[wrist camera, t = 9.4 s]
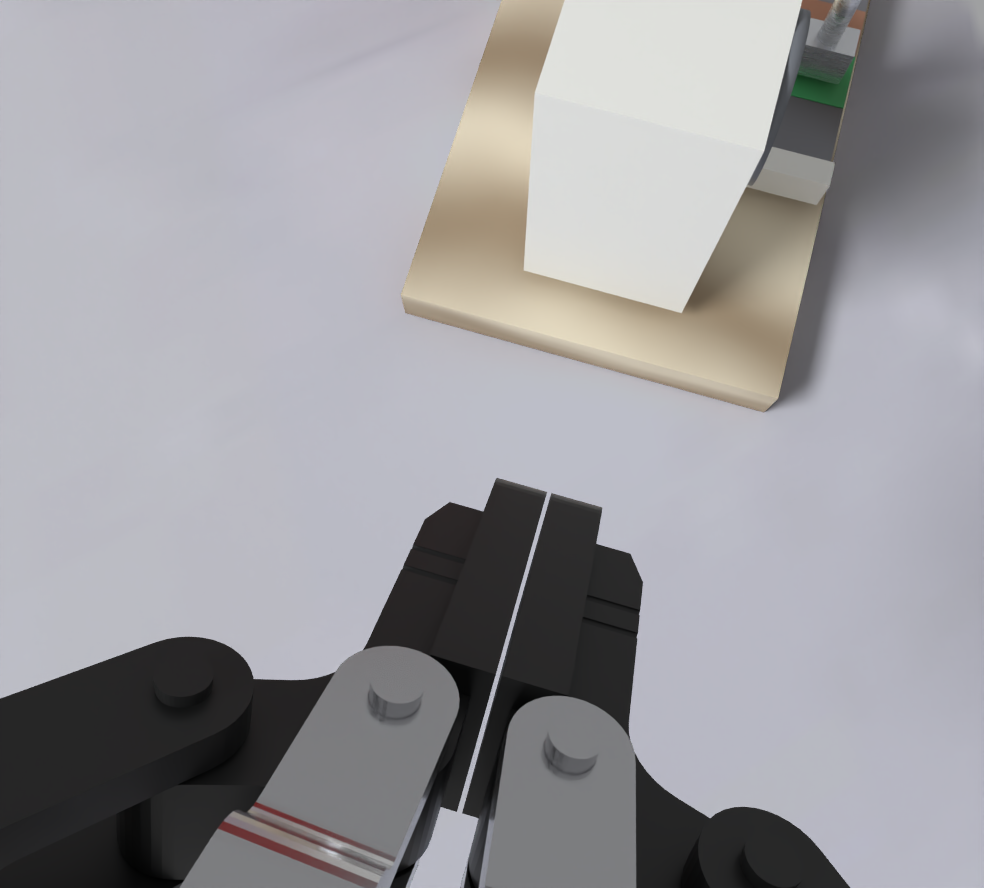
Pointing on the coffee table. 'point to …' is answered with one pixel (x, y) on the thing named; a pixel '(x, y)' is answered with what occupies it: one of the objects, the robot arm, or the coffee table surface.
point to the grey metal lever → (831, 43)
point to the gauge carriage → (659, 138)
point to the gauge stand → (595, 314)
